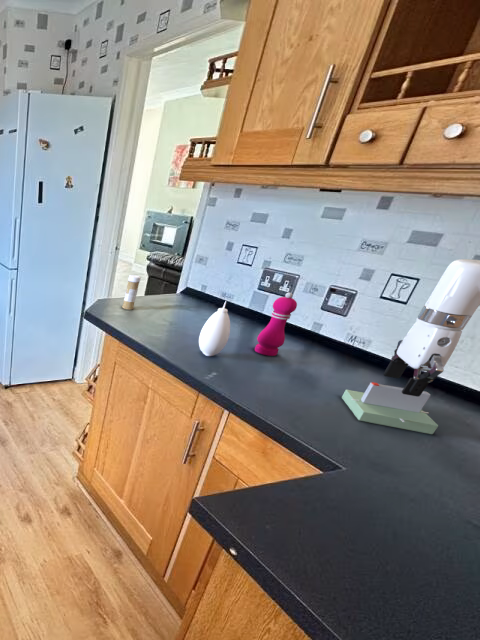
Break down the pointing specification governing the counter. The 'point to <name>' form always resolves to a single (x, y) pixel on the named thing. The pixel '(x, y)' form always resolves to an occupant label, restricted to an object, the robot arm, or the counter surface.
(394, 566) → the counter surface
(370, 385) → the white rectangular block
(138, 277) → the sprinkles bottle
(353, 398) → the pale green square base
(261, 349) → the pepper mill
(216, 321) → the white air blower bulb
